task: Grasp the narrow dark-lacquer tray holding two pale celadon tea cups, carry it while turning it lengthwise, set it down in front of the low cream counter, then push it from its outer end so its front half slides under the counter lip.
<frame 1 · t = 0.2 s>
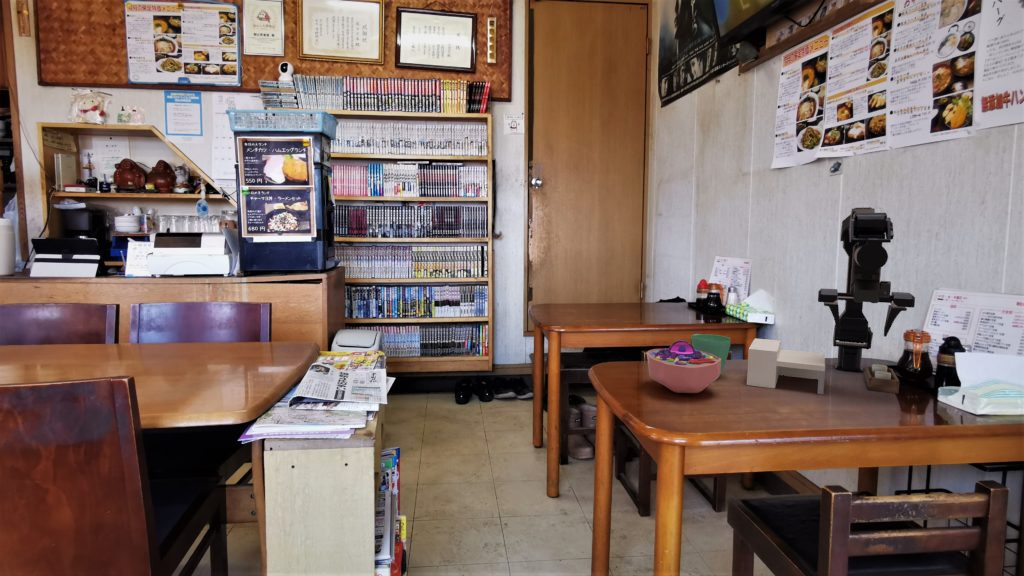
hand: (861, 334, 131), 14 cm above the table, fingers open, 9 cm apart
counter: (802, 384, 140), on the table
cell model: (681, 391, 133), on the table
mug: (704, 373, 150), on the table
tray: (880, 384, 140), on the table
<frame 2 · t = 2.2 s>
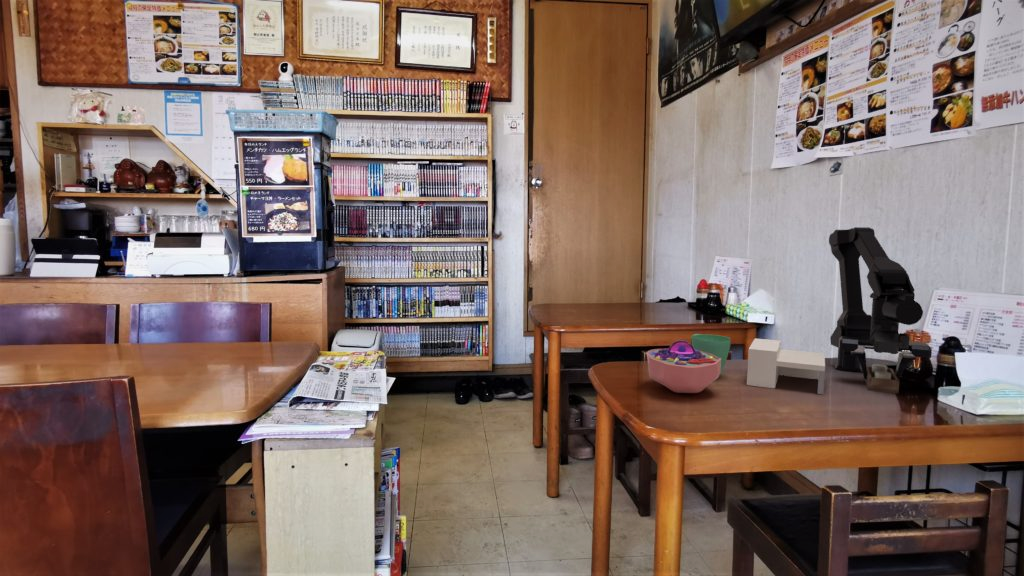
hand: (880, 380, 139), 1 cm above the table, fingers closed on tray, 6 cm apart
tray: (880, 384, 140), on the table, touching gripper
everything else where it was.
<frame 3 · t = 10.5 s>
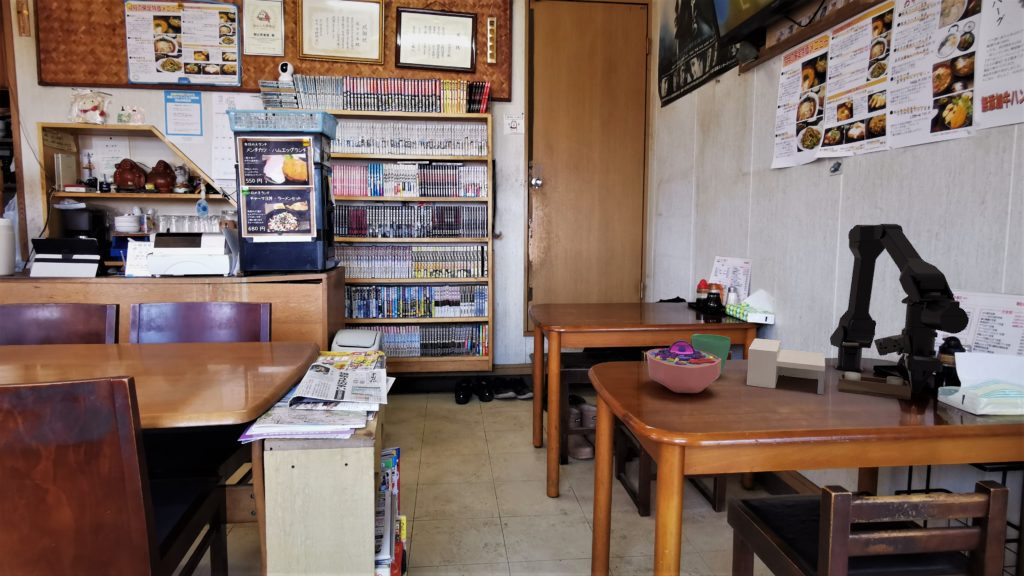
hand: (915, 393, 129), 1 cm above the table, fingers closed, pressing on tray
tray: (872, 392, 133), on the table, touching gripper
everything else where it was.
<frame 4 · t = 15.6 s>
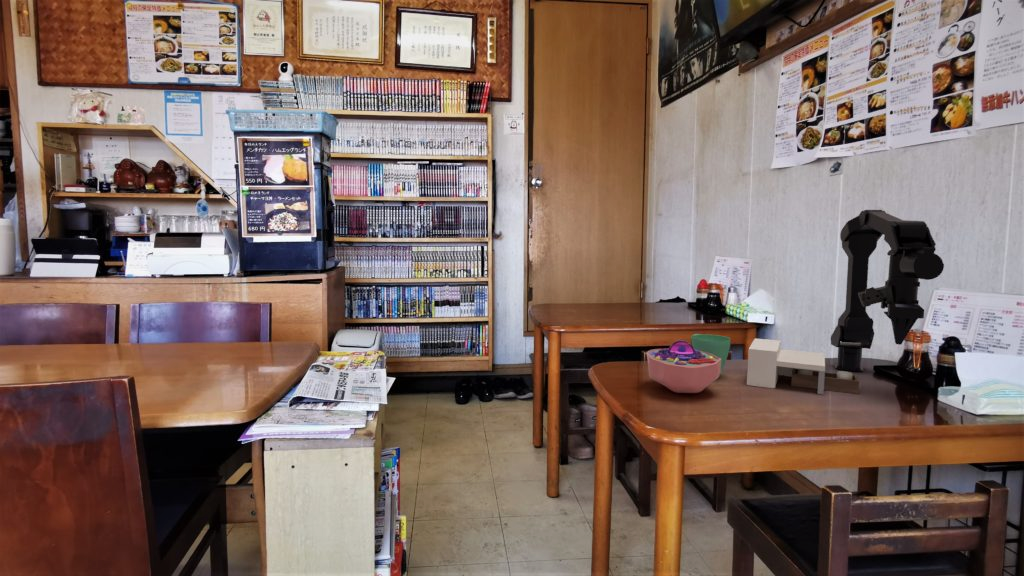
hand: (898, 344, 130), 12 cm above the table, fingers closed
tray: (823, 386, 137), on the table
everything else where it was.
at the end: tray inside the target area on the counter (0.3 cm from its centre), point 0.0 cm above the counter's base; tray tilted 0°; the gripper is holding nothing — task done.
